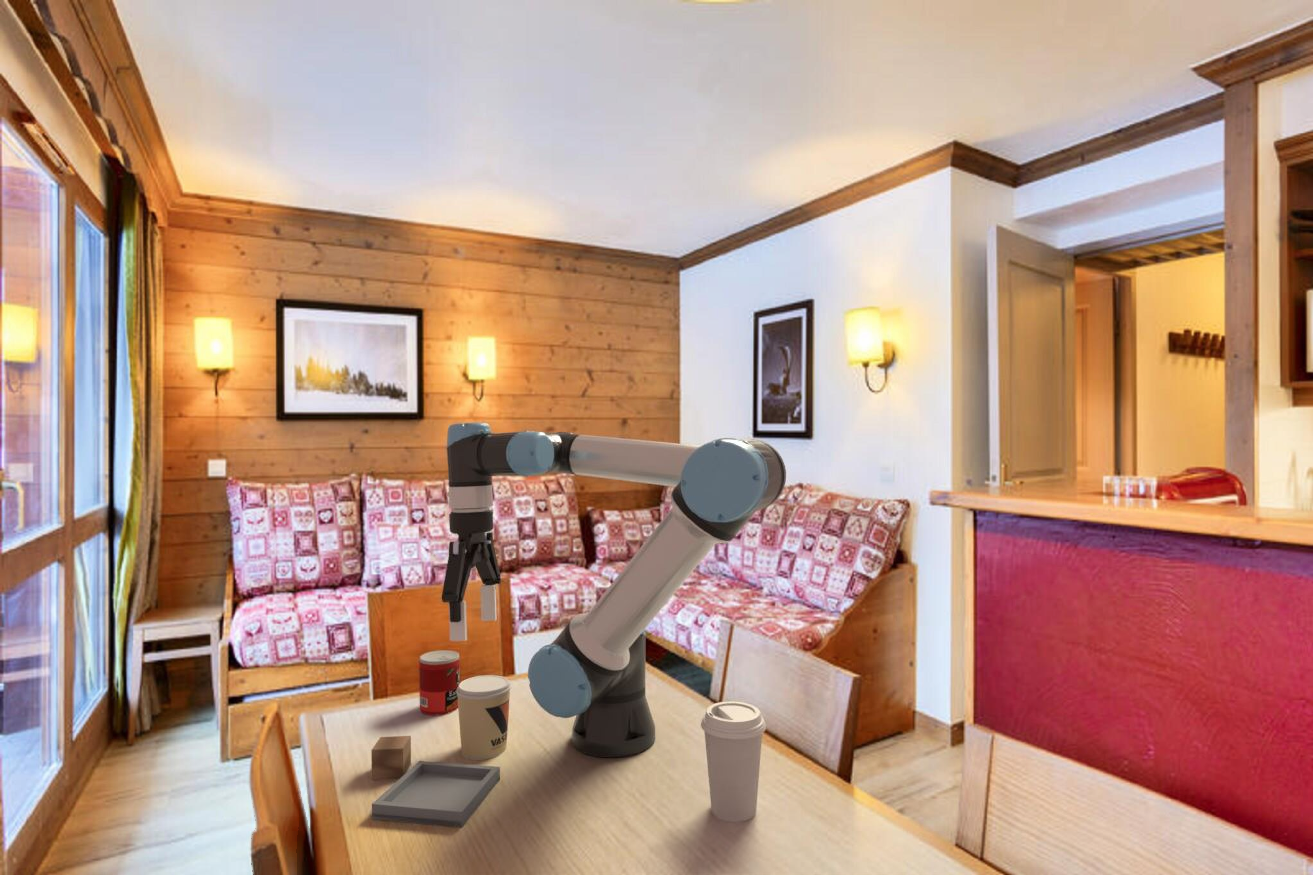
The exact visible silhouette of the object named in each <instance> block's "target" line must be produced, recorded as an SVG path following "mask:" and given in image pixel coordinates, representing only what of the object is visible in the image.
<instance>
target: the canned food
mask: <svg viewBox="0 0 1313 875" xmlns="http://www.w3.org/2000/svg"><path fill="white" fill-rule="evenodd" d="M460 663H461V662H460V653H459V652H457V651H454V650H434V651H430V652H425V653H423V654H421V655H420V656H419V662H418V666H419V667H418V669H419V670H418V672H419V674H418V675H419V677H418V678H419V679H418V682H419V685H418V686H419V689H418V690H419V709H420V712H421V714H424V715H428V716H441V715H446V714H450V713H453V712H455V711H456V710H458V695H457V688H458V685H459V684H460V683H461V681H460V670H461V669H460Z"/></svg>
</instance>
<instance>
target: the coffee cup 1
mask: <svg viewBox="0 0 1313 875" xmlns="http://www.w3.org/2000/svg"><path fill="white" fill-rule="evenodd" d="M511 688H512V685H511V683H510V680H509V679H508V678H507V677H505V676H501V675H496V674H495V675H494V674H485V675H483V674H482V675H476V676H473V677H472V676H471V677H469V678H467V679H464V680H461V681H460V684H459V685H458V688H457V695H458V709H457V710H458V721H459V735H460V736H459V737H460V745H461V746H460V747H461V754H462V756H463V757H464V758H466V759H470V760H477V761H478V760H488V759H492V758H495V757H498V756H500V755H502V754H503V753H505V751H506V750H507V743H508V731H509V730H508V729H509V728H508V726H509V713H510V696H511V695H510V694H511V692H510V691H511Z"/></svg>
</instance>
